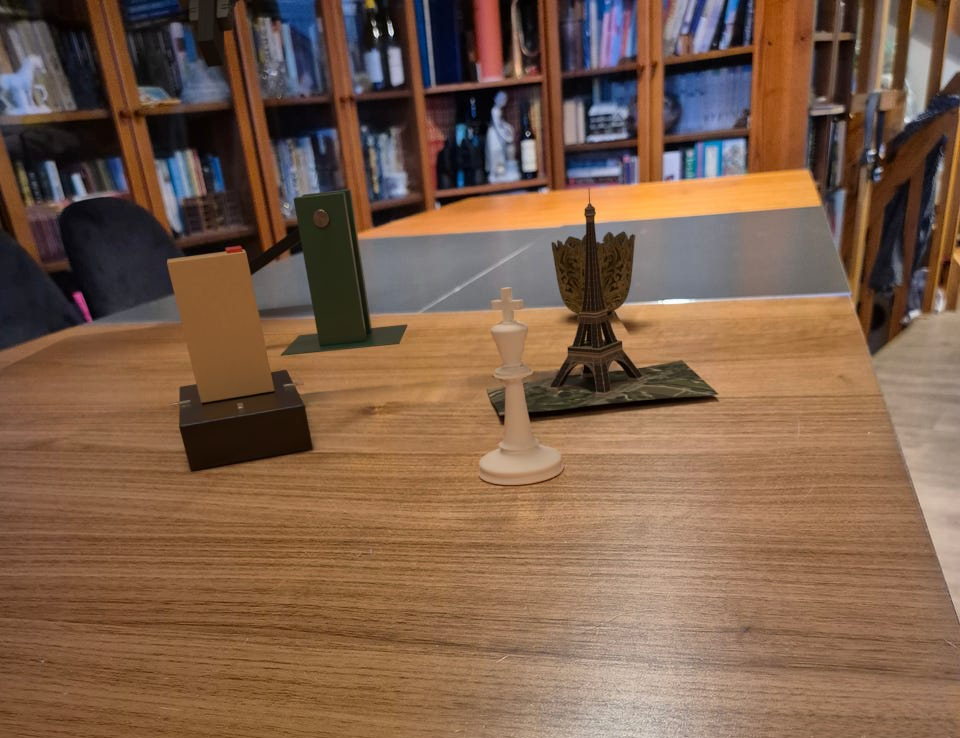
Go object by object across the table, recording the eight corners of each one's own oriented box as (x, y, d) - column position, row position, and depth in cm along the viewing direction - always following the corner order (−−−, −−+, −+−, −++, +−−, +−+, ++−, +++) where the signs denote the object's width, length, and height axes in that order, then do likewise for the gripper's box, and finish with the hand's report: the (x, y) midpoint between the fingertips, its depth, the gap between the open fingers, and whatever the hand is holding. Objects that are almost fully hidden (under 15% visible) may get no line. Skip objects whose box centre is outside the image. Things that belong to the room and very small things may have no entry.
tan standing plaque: (201, 403, 63) (165, 257, 59) (200, 397, 65) (166, 255, 60) (274, 391, 64) (245, 247, 60) (272, 385, 66) (243, 245, 61)
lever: (221, 305, 84) (204, 281, 83) (243, 291, 91) (227, 269, 90) (340, 223, 80) (323, 196, 79) (352, 215, 87) (337, 191, 86)
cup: (550, 340, 85) (544, 245, 81) (563, 323, 91) (558, 235, 87) (632, 335, 83) (630, 239, 79) (640, 319, 89) (638, 228, 85)
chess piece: (505, 454, 57) (489, 280, 52) (578, 460, 54) (568, 278, 49) (462, 481, 53) (441, 297, 48) (538, 489, 51) (524, 296, 46)
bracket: (283, 367, 86) (250, 203, 79) (301, 347, 94) (272, 196, 87) (400, 355, 85) (378, 189, 78) (409, 336, 93) (388, 184, 86)
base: (181, 427, 70) (170, 385, 69) (302, 407, 72) (294, 365, 70) (181, 473, 60) (168, 425, 58) (322, 448, 62) (313, 400, 60)
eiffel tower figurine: (496, 426, 62) (476, 206, 56) (486, 389, 71) (468, 197, 65) (719, 400, 62) (725, 179, 56) (680, 367, 71) (682, 173, 65)
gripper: (290, -100, 96) (290, 79, 90) (167, -84, 97) (159, 95, 90) (268, -182, 89) (266, 7, 82) (136, -164, 90) (124, 25, 83)
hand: (210, 53), depth 86 cm, fingers closed
